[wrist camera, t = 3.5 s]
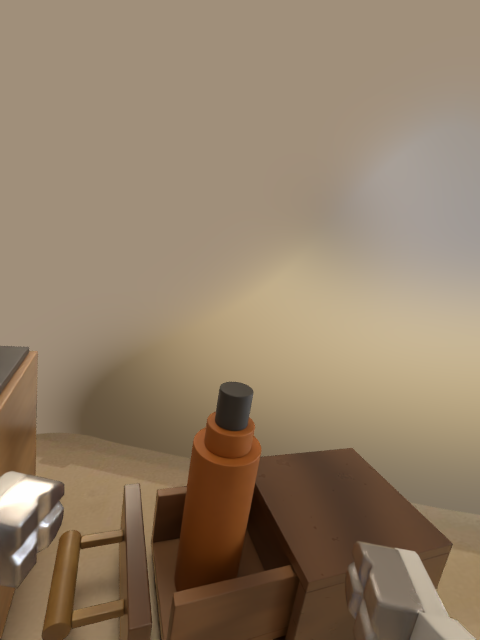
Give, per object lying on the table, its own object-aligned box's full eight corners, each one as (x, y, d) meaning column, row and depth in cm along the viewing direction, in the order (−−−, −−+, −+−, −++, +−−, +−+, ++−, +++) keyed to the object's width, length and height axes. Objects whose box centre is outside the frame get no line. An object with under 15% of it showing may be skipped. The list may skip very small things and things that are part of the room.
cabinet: (285, 674, 21) (308, 582, 20) (230, 526, 32) (242, 458, 30) (424, 621, 26) (453, 543, 24) (336, 507, 36) (352, 447, 35)
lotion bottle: (180, 619, 22) (211, 407, 18) (170, 555, 26) (194, 373, 22) (244, 601, 23) (284, 405, 20) (225, 545, 28) (255, 374, 24)
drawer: (30, 741, 16) (32, 656, 15) (62, 553, 26) (65, 491, 25) (300, 647, 22) (318, 579, 21) (246, 521, 32) (255, 469, 30)
